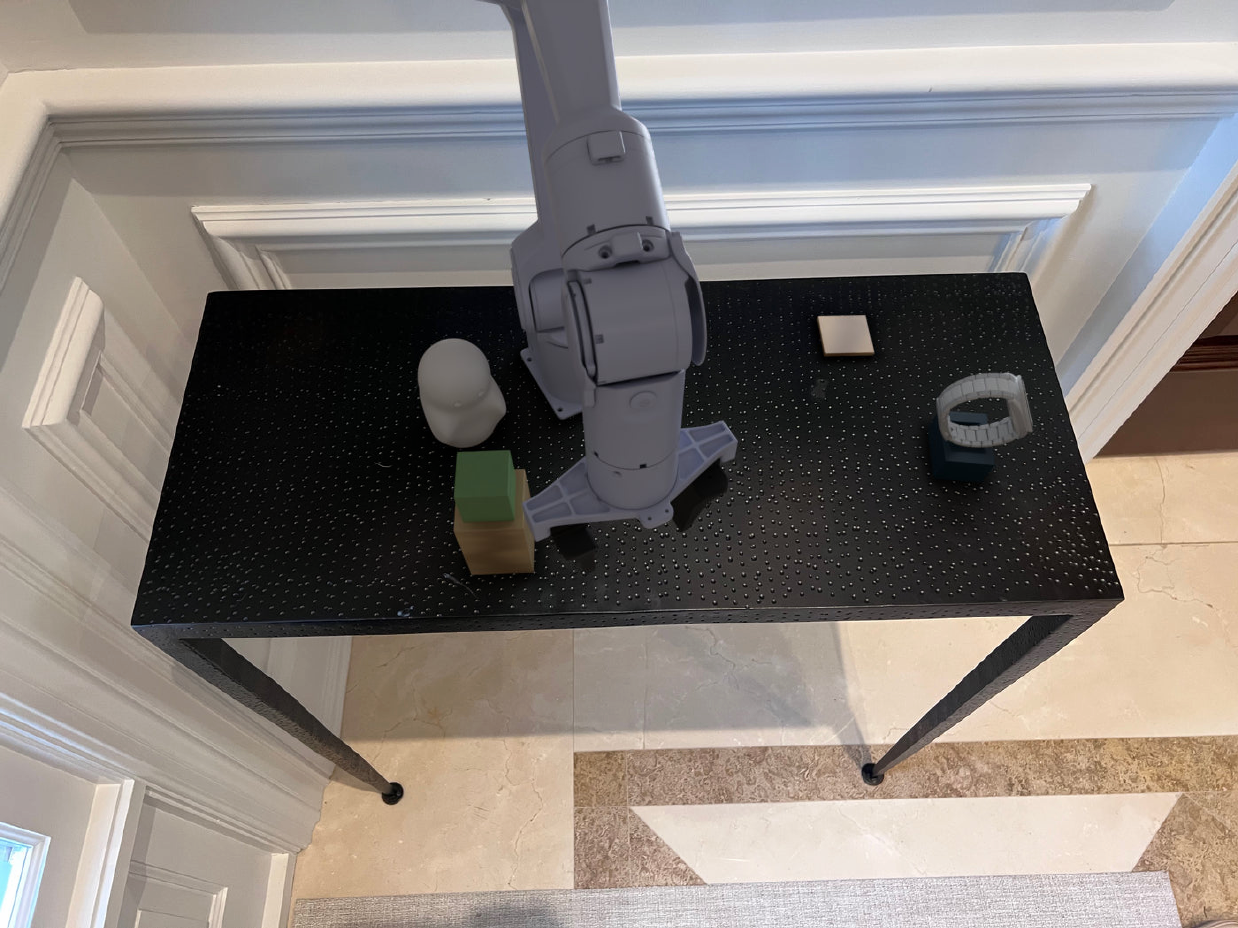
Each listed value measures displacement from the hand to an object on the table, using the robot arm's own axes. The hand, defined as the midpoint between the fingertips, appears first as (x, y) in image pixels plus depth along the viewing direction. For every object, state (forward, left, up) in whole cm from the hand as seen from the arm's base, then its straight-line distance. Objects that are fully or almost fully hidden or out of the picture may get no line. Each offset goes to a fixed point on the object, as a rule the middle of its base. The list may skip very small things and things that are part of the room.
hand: (632, 540), depth 58 cm
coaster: (-14, +33, -11) cm, 38 cm away
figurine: (-23, -5, -11) cm, 26 cm away
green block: (-9, -8, -2) cm, 12 cm away
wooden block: (-9, -8, -11) cm, 16 cm away
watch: (+2, +34, -11) cm, 35 cm away
